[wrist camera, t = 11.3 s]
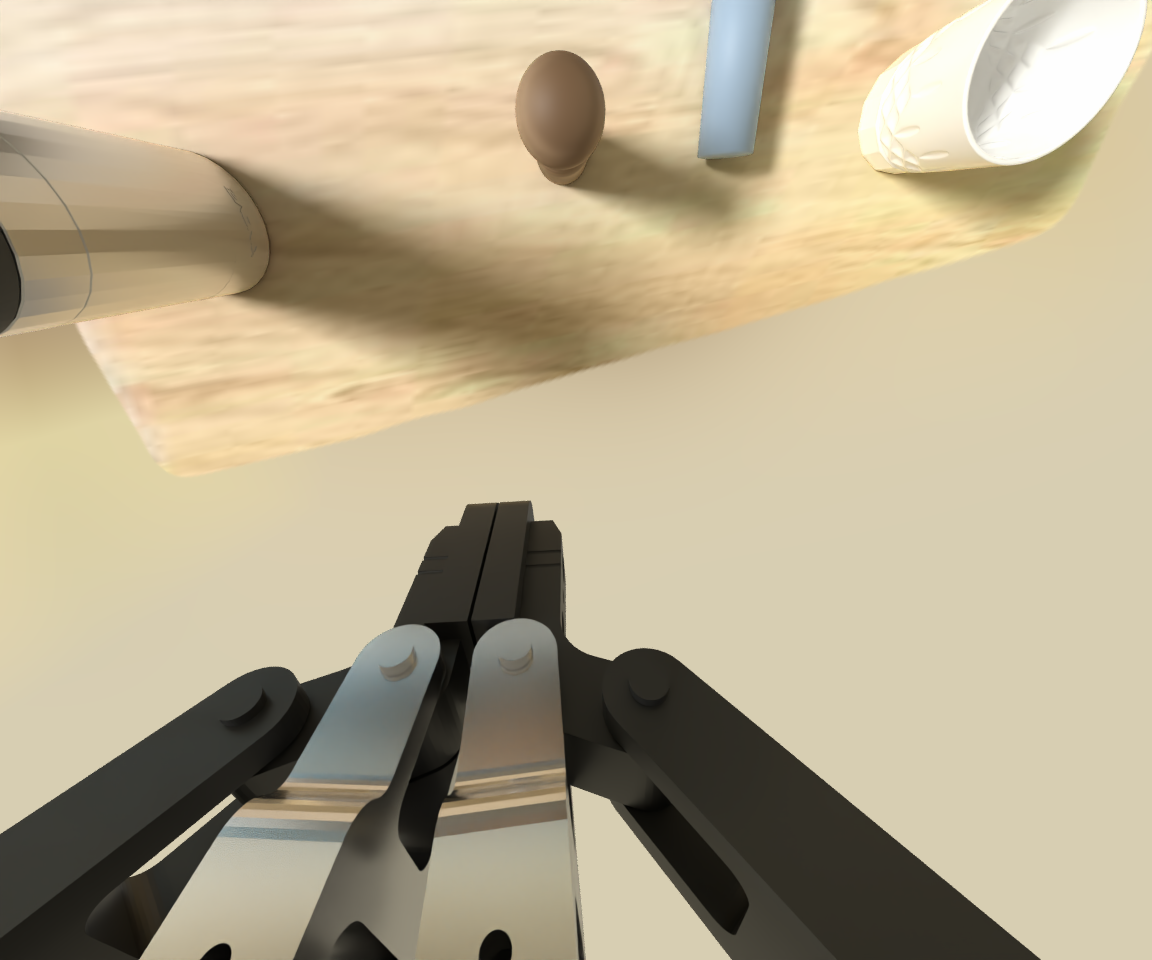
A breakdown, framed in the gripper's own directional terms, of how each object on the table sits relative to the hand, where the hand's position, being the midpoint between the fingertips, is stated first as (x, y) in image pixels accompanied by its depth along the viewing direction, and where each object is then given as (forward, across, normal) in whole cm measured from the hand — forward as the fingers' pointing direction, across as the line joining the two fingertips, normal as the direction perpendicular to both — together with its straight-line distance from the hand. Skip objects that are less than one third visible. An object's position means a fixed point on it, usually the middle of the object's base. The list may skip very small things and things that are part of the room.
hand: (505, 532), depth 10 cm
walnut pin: (+29, -2, -11) cm, 31 cm away
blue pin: (+27, -13, -10) cm, 32 cm away
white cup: (+29, -26, -12) cm, 41 cm away
